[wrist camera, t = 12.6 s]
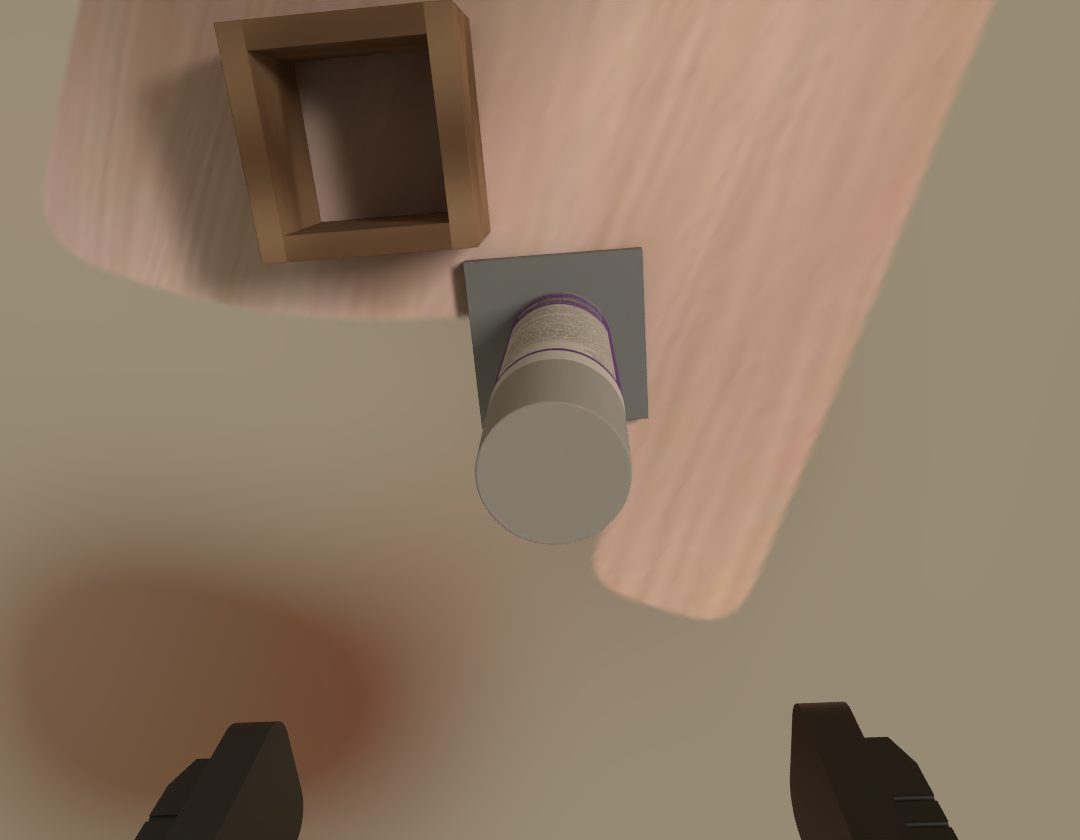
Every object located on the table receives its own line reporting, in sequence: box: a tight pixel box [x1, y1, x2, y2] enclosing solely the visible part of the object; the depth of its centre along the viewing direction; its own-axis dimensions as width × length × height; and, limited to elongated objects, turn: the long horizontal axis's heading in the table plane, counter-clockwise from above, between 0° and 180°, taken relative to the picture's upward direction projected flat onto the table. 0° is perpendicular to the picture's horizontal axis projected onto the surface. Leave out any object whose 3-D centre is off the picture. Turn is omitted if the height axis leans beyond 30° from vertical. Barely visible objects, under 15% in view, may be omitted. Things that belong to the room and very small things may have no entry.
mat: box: [463, 247, 648, 428], centre depth 36 cm, size 8×8×1 cm
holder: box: [214, 0, 490, 264], centre depth 31 cm, size 9×9×5 cm
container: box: [475, 292, 632, 544], centre depth 29 cm, size 5×5×15 cm
